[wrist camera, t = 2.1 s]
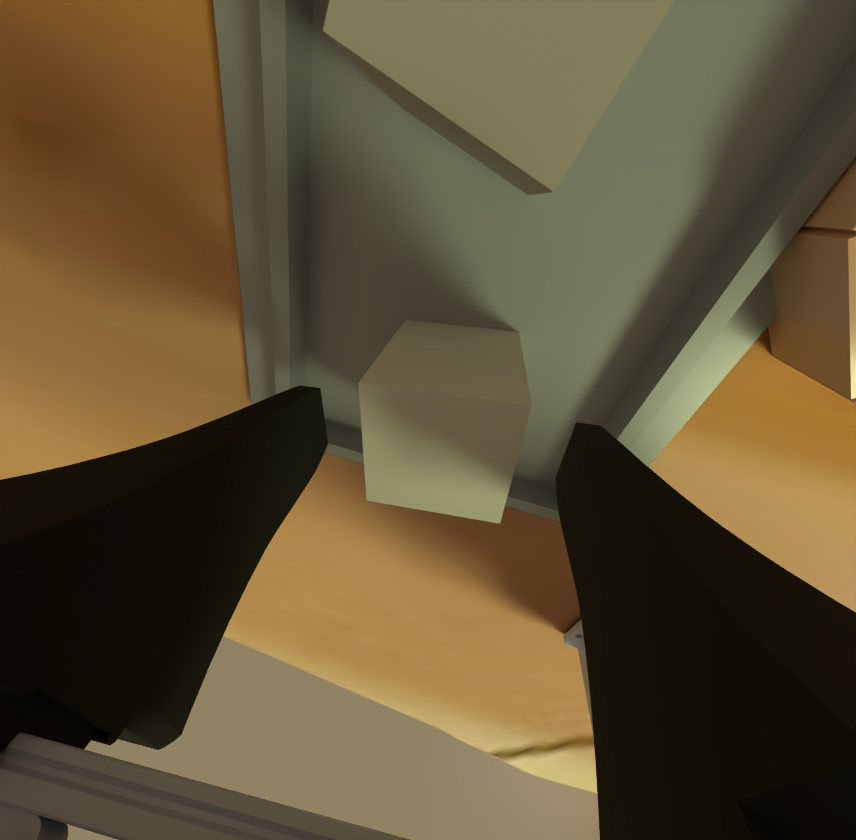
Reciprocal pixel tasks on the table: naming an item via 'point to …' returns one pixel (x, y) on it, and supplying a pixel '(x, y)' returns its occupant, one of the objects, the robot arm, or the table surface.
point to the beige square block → (501, 71)
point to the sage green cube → (444, 419)
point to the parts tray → (533, 219)
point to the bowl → (820, 292)
